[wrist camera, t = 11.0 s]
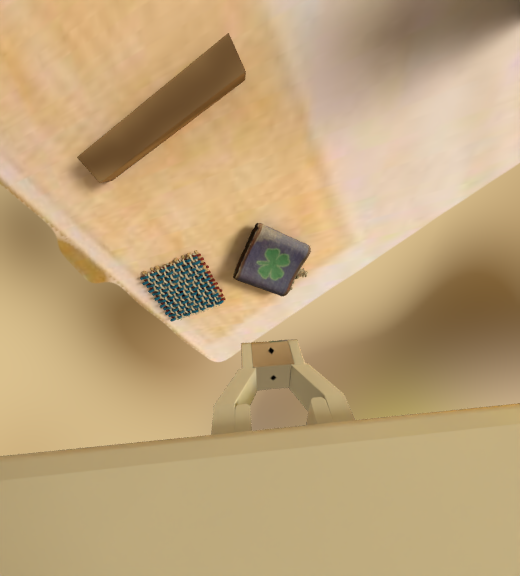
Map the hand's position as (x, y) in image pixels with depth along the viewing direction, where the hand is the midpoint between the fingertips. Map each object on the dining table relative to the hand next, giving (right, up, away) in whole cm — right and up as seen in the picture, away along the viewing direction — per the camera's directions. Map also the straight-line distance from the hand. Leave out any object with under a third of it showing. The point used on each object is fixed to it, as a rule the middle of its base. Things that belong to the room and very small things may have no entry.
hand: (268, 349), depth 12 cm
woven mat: (-13, +4, +26) cm, 29 cm away
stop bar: (-12, +23, +14) cm, 29 cm away
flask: (-3, +10, +24) cm, 26 cm away
